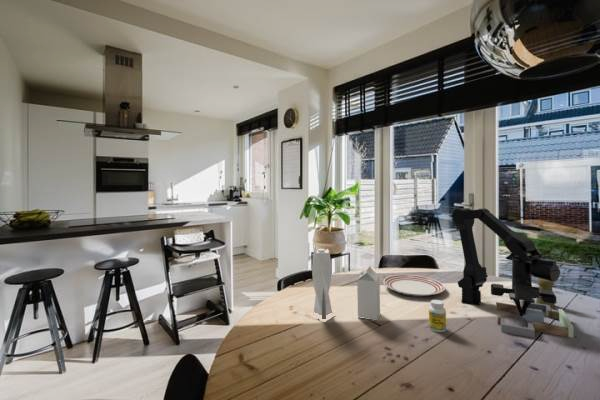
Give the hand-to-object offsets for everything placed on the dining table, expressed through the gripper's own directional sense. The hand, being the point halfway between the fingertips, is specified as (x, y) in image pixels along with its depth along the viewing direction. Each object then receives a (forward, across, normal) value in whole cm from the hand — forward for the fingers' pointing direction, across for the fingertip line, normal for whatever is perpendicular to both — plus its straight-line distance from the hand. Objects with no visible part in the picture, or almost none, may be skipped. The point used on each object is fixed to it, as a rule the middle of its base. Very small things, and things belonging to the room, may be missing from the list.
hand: (521, 316), depth 110 cm
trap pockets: (+1, +3, 0) cm, 3 cm away
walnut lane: (+1, +3, 0) cm, 3 cm away
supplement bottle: (+2, -25, -21) cm, 33 cm away
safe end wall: (+1, +12, 0) cm, 12 cm away
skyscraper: (+2, -65, -30) cm, 72 cm away
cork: (+2, +10, +20) cm, 22 cm away
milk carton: (+2, -49, -22) cm, 54 cm away
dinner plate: (+2, -40, +16) cm, 44 cm away
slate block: (+1, +4, 0) cm, 4 cm away
